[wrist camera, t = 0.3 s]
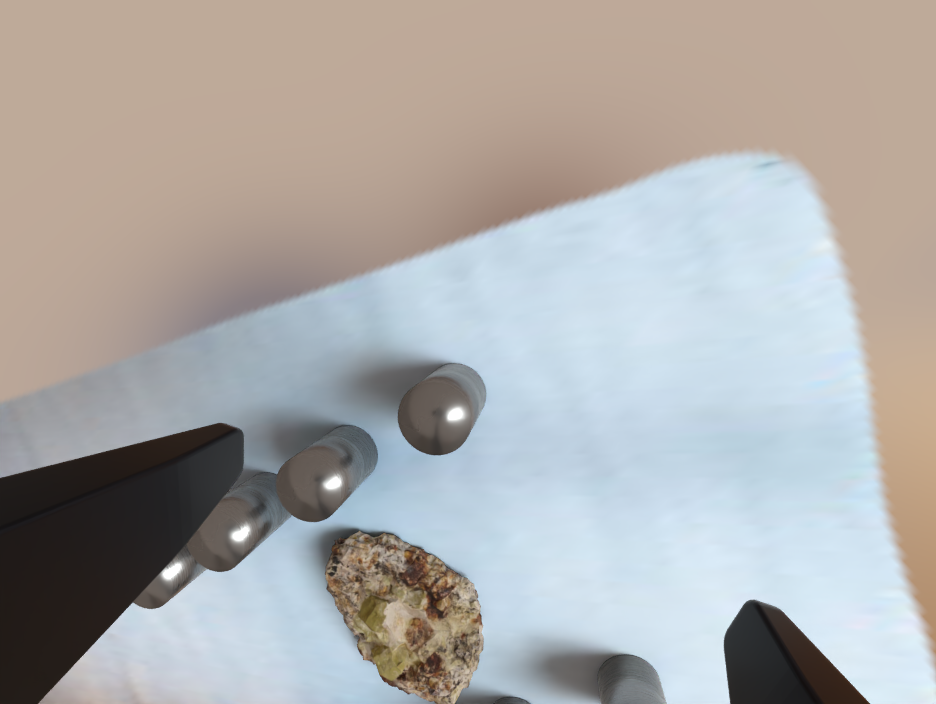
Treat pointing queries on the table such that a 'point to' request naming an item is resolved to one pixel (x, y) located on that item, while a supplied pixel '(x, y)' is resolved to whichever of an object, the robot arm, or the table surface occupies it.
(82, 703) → the table surface
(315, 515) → the spacer posts
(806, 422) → the table surface
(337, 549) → the mineral rock
